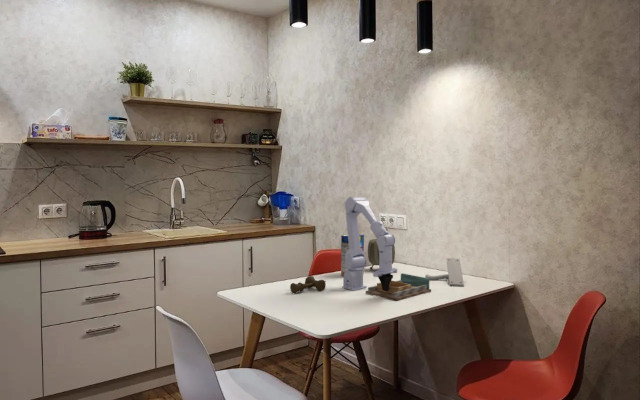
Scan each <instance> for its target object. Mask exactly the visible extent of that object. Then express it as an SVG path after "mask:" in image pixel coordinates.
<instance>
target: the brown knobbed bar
mask: <svg viewBox="0 0 640 400" xmlns="http://www.w3.org/2000/svg"><path fill="white" fill-rule="evenodd" d="M326 286H327V285H326V281H325V280H324V279H319V280H316V279H315V277H314V276H313V275H308V276H307V277H306V278H305V281H304V283H303V282H301V281H300V282H298V283H294V282H292V283H290V285H289V289H290V292H291V293H292V294H293V293H294V294H293V295H295V294H296V295H297V293H298V292H301V293H302V292H304V290H305V289H312V288H315V289H316V290H317V292H322V291H324V290H325V288H326Z"/></svg>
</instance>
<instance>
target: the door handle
mask: <svg viewBox="0 0 640 400" xmlns="http://www.w3.org/2000/svg"><path fill="white" fill-rule="evenodd" d="M445 260H446V265H447V266H446V267H447V274H439V275H430V274H425V276H424V278H430V281H439V280H448V283H449V286H450V287H464V285H465V284H464V283H465V282H464V278H463V271H462V264H461V259H460V258H456V257H455V258H451V257H446V259H445Z"/></svg>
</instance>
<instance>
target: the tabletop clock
mask: <svg viewBox="0 0 640 400" xmlns="http://www.w3.org/2000/svg"><path fill="white" fill-rule="evenodd" d="M385 229H386V230H387V231H388V229H387V228H386V227H385ZM388 232H389V231H388ZM395 257H396V249H395V244H394V245H393V246H392V265H393V264H394V262H395ZM367 258H368V262H369V263H370V264H371V266H370V267H369V270H373V269H374V266H379V249H378V245H377V238H373V239H370V240H369V241H368V245H367Z"/></svg>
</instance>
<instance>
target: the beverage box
mask: <svg viewBox="0 0 640 400" xmlns="http://www.w3.org/2000/svg"><path fill="white" fill-rule="evenodd" d="M340 237H341V238H340V239H341V241H340V244H341V245H340V247H341V248H340V260H341V261H340V276H341V277H343V275H344V273H345V272H346V271H348V269H347V268H346V266H345V254H346V253H347V252H348V251H349V242H348V234H343V235H341V236H340ZM359 240H360V249H361V250H362V251H364V252H365V235H364V234H360V233H359ZM354 256H357V255H354ZM364 269H365V268H364ZM364 269H363V276H364Z"/></svg>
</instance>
